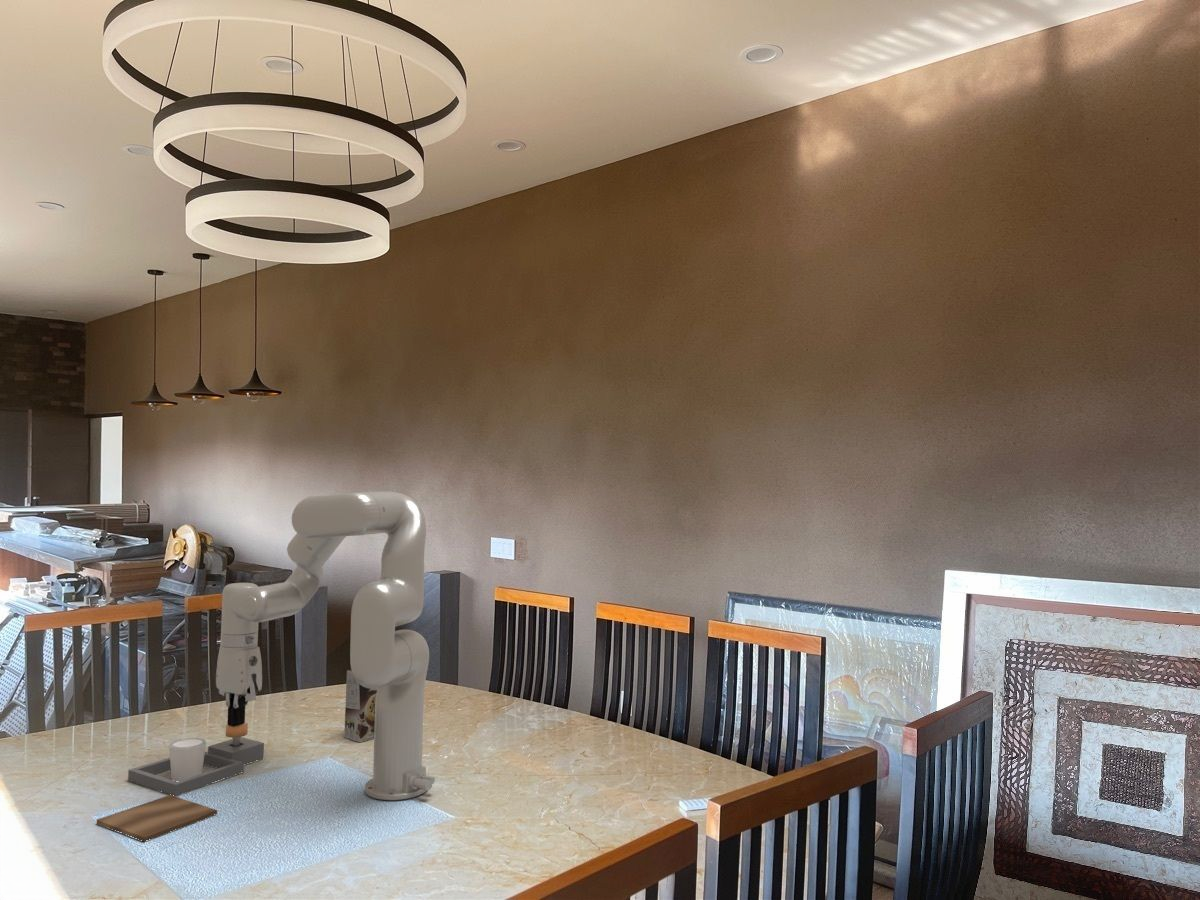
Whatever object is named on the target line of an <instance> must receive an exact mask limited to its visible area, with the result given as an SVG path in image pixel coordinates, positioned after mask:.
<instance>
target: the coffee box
mask: <svg viewBox="0 0 1200 900" xmlns="http://www.w3.org/2000/svg"><path fill="white" fill-rule="evenodd" d="M345 686H346V688H345V708H344V709H345V712H344V735H343V736H344V739H348V740H350V741H353V742H356V741H357V743H363V742H366V741H367V742H368V741H371V740H374V728H375V701H376V694H377V690H378V688H376V689H369V688H366V687H363V686H362V685H360V684H359V683H358V682H357V681H356V679H355V677H354V675H353V673H352V669H348V670H347V669H346V684H345Z"/></svg>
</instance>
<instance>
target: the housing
mask: <svg viewBox="0 0 1200 900" xmlns="http://www.w3.org/2000/svg"><path fill="white" fill-rule="evenodd" d="M232 739H233V738H232ZM232 739H228V740H224V741H221V742H218V743H215V744H211V745H208V746H207V751H205V754H204V762H203V765H204V764H206V765H205V766H207V765H209V766H208V767H210V766H213V767H212V768H214V767H217V768H218V769H217V768H215V769H212V770H209V771H206V772H202V774H200V775H197V776H194V777H191V778H188V779H185V780H182V781H179V782H176V781H173V780H172V779H169V778H166V777H164V776H161V775H159V774H162V773H165V772H168V770H169V771H171V764H170V757H167V758H163V759H161V760H157V761H153V762H150V763H146V764H144V765H141V766H138V767H134V768H131V769H127V771H128V774H127V775H128V776H127V782H130V781H131V783H133V782H135V783H134V784H136V783H137V784H136V785H139V784H140V786H142V787H145V788H148V789H152V790H154V789H155V790H154V791H157V790H158V792H160V791H162V792H161V793H163V792H165V793H164V794H166V793H168V794H167V795H169V794H171V795H174V796H176V795H178V796H180V795H179V794H181V795H183V794H182V793H184V794H186V793H185V792H187V793H189V792H188V791H190V792H192V791H195V790H197V789H196V788H198V789H201V788H203V787H202V786H204V787H206V786H205V785H207V784H210V783H212V782H215V781H218V780H221V779H223V778H227V777H230V776H233V775H235V774H239V773H241V772H243V773H244V770H245V768H244V767H245V765H244V764H247V763H250V762H253V763H255V762H254V761H256V760H259V761H261V760H260V759H262V760H264V759H263V758H264V757H265V756H264V754H265V753H264V751H265V747H264V746H265V743H264V742H262V741H257V740H254V739H249V738H246V737H244V736H242V737H240V746H237V747H233V746H232ZM256 762H257V761H256ZM250 764H251V763H250ZM247 765H248V764H247ZM164 771H165V772H164ZM161 772H162V773H161ZM158 773H159V774H158ZM155 774H156V775H155ZM239 775H240V774H239ZM233 777H234V776H233ZM230 778H231V777H230ZM227 779H228V778H227ZM221 781H222V780H221ZM210 785H211V784H210ZM207 786H208V785H207ZM200 787H201V788H200ZM194 789H195V790H194ZM191 790H192V791H191ZM176 797H177V796H176Z"/></svg>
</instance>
